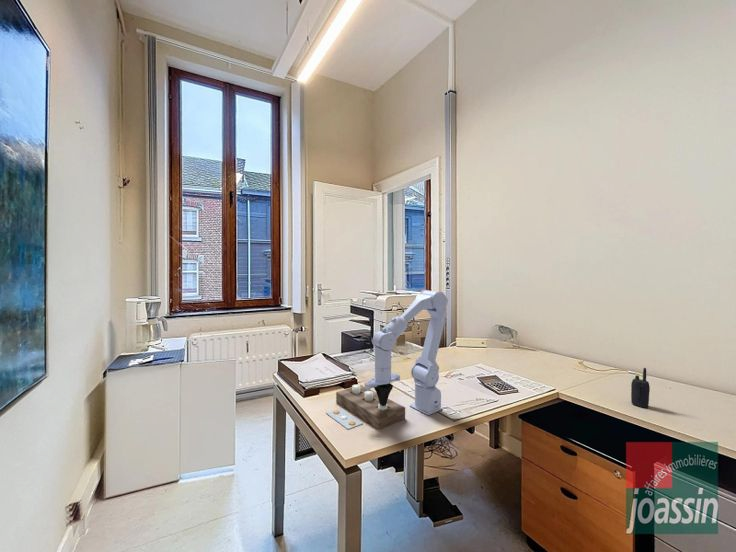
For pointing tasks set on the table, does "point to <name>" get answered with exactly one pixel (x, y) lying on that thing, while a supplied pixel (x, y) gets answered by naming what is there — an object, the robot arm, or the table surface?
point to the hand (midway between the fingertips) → (382, 404)
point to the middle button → (368, 396)
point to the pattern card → (344, 418)
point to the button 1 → (356, 389)
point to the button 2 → (382, 407)
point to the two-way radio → (640, 391)
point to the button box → (370, 408)
